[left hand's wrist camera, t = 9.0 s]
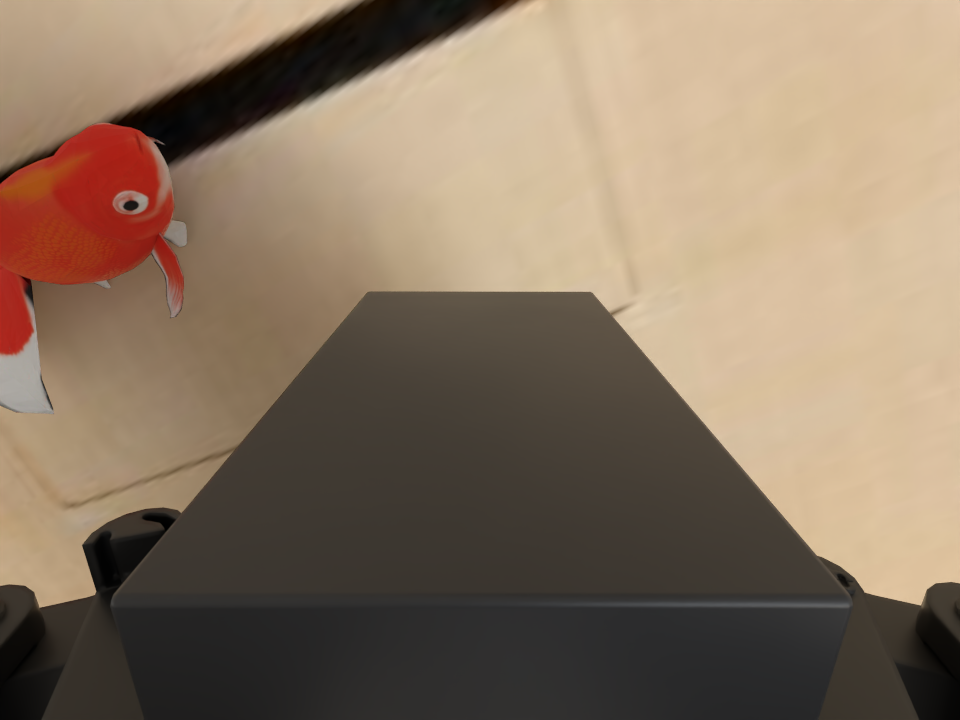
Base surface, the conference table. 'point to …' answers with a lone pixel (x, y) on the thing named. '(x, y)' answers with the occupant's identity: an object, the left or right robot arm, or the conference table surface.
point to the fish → (79, 237)
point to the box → (481, 540)
